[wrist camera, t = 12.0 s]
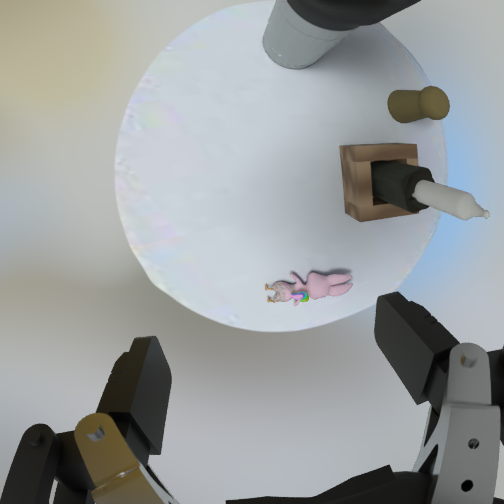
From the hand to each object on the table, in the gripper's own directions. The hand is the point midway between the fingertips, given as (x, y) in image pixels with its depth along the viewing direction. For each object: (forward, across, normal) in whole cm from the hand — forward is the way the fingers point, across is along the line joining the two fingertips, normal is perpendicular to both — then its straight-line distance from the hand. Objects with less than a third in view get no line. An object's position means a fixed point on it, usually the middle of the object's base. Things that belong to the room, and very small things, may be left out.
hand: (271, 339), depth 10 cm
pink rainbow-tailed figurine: (+36, -10, +18) cm, 42 cm away
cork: (+36, -30, -11) cm, 48 cm away
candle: (+35, -22, +1) cm, 42 cm away
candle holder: (+36, -22, +1) cm, 43 cm away
